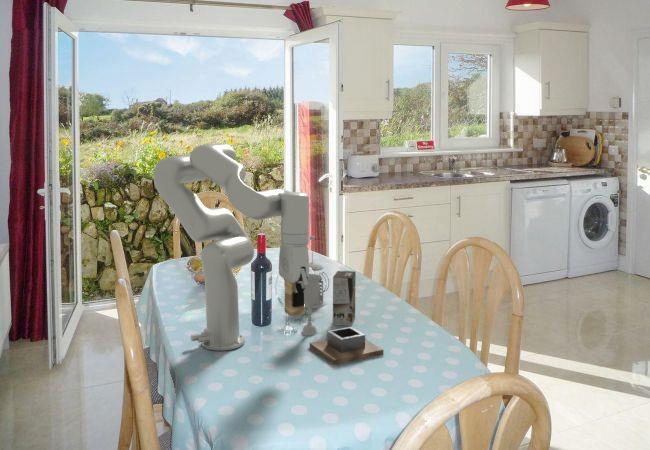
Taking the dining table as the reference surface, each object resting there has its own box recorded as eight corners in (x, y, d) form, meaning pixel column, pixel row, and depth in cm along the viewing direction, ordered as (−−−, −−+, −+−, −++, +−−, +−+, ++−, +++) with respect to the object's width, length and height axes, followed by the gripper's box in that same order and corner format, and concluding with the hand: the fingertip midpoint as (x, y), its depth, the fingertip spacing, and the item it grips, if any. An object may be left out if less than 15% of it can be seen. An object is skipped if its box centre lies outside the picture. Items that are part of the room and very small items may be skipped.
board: (334, 365, 174) (334, 360, 174) (309, 347, 187) (309, 342, 186) (383, 354, 181) (383, 349, 181) (355, 338, 194) (356, 333, 194)
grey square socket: (341, 353, 178) (341, 339, 178) (327, 344, 185) (327, 331, 185) (365, 348, 182) (365, 334, 182) (350, 339, 189) (350, 326, 188)
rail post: (291, 316, 172) (291, 273, 169) (284, 312, 175) (284, 269, 173) (304, 314, 173) (304, 271, 171) (297, 310, 177) (298, 268, 175)
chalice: (303, 337, 195) (303, 281, 192) (294, 331, 201) (293, 275, 198) (324, 333, 198) (324, 277, 195) (315, 327, 204) (314, 273, 201)
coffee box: (351, 326, 205) (352, 278, 202) (332, 325, 206) (332, 276, 203) (356, 317, 214) (356, 270, 211) (337, 316, 215) (337, 270, 212)
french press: (309, 298, 235) (309, 232, 231) (335, 303, 229) (335, 235, 224) (293, 305, 228) (292, 236, 223) (319, 310, 221) (319, 240, 216)
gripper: (269, 233, 176) (269, 297, 179) (296, 246, 161) (295, 314, 165) (293, 231, 179) (293, 293, 183) (322, 243, 165) (320, 310, 168)
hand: (294, 303), depth 174 cm, fingers closed on rail post, 4 cm apart
